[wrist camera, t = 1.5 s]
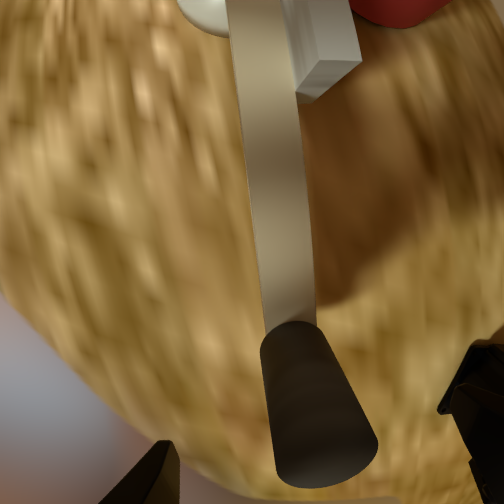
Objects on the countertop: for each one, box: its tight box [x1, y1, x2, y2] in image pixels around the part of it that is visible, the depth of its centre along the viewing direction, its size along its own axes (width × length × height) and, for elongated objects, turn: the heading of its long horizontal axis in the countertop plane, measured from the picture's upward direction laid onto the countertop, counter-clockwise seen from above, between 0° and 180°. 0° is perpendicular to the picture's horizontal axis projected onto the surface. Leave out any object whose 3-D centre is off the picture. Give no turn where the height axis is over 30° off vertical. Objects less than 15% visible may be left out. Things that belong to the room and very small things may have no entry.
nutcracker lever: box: [225, 0, 378, 489], centre depth 9 cm, size 22×4×9 cm, turn 7°
